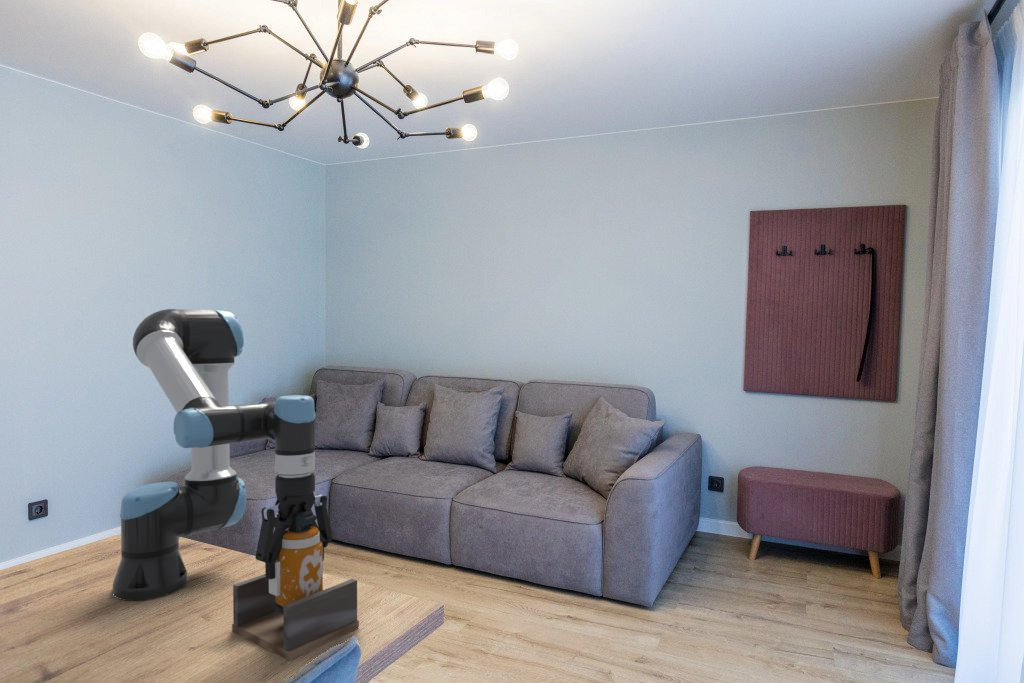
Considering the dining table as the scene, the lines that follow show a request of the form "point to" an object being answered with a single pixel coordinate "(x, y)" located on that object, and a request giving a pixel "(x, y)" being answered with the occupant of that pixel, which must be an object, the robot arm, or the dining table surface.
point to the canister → (300, 561)
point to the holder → (293, 617)
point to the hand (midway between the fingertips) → (295, 585)
